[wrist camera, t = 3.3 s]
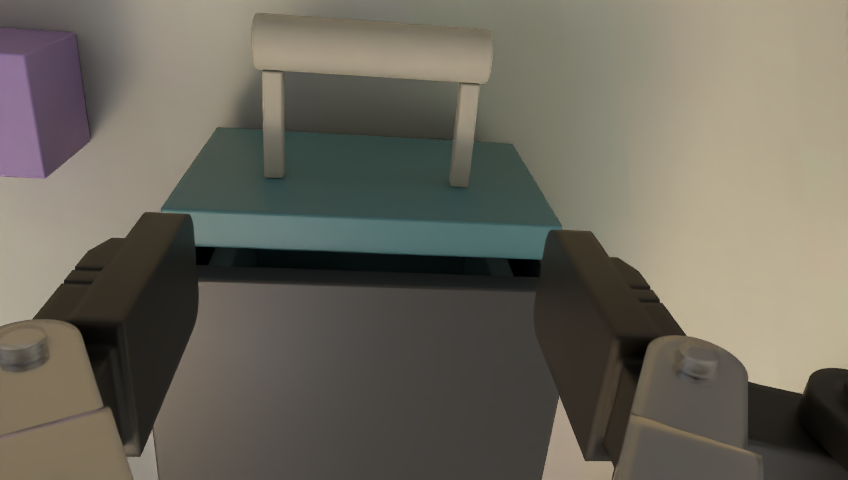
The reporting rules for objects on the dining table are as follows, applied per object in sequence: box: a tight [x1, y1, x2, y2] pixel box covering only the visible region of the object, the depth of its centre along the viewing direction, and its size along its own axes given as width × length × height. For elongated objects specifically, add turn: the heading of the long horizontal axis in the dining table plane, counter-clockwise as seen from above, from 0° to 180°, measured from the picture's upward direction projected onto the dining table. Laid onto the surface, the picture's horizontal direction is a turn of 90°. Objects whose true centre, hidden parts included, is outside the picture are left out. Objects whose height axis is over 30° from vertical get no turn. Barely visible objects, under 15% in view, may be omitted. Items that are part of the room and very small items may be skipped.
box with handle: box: [161, 13, 562, 276], centre depth 25 cm, size 19×12×8 cm, turn 175°
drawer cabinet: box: [152, 246, 559, 480], centre depth 27 cm, size 15×13×10 cm
